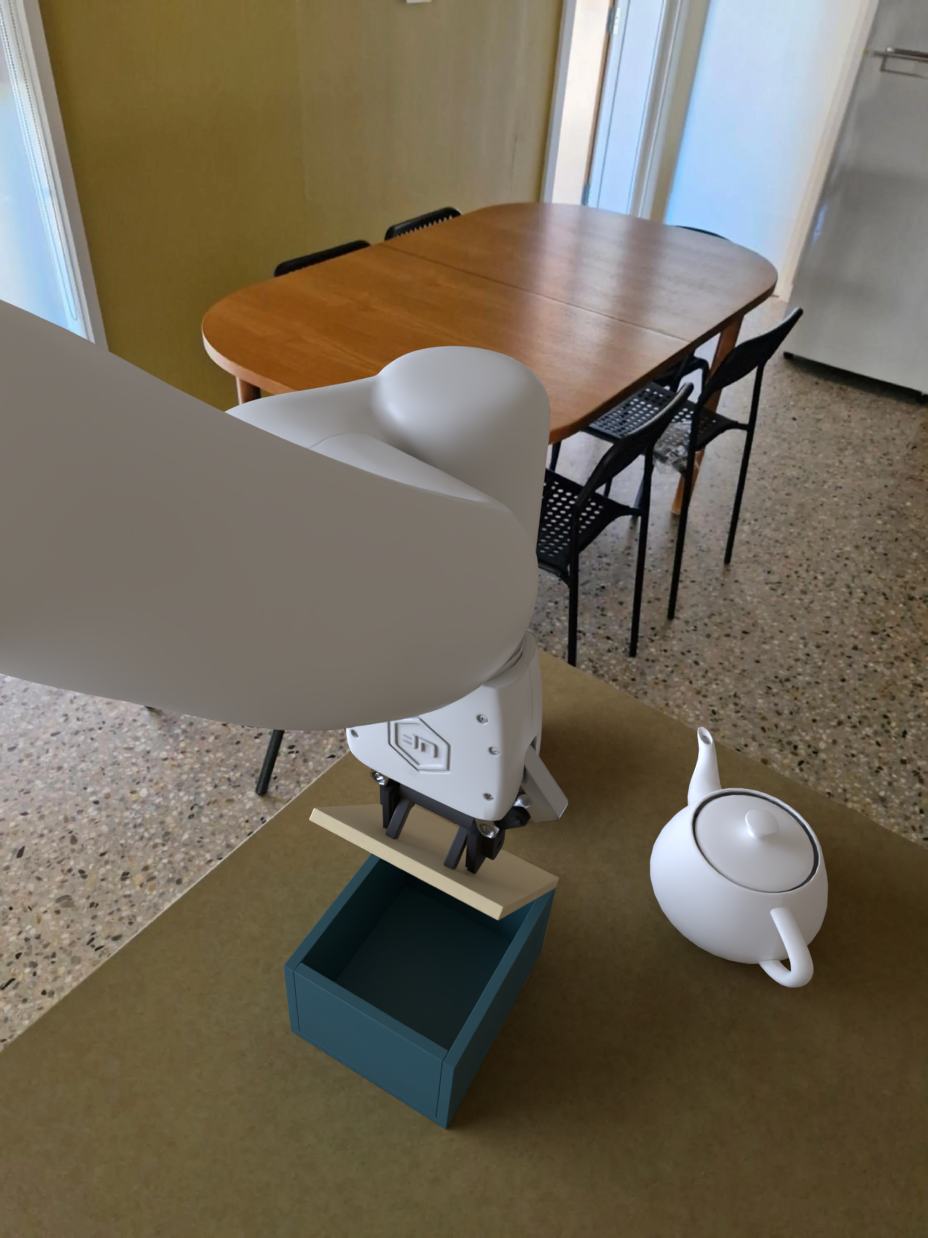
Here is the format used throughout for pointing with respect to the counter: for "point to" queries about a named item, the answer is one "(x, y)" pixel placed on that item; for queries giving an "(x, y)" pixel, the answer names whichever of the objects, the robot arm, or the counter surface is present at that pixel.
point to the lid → (438, 851)
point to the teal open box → (411, 983)
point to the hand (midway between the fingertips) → (441, 832)
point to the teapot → (741, 874)
